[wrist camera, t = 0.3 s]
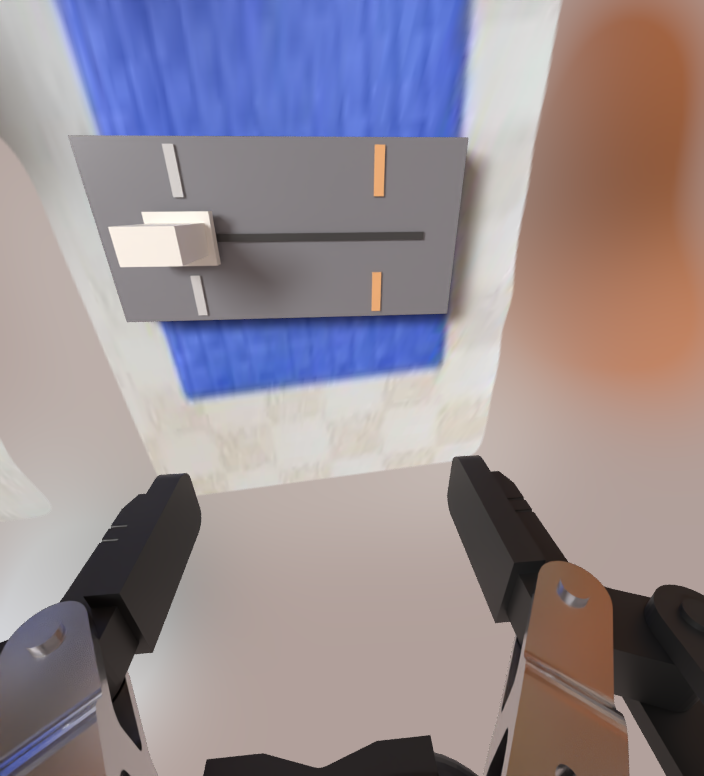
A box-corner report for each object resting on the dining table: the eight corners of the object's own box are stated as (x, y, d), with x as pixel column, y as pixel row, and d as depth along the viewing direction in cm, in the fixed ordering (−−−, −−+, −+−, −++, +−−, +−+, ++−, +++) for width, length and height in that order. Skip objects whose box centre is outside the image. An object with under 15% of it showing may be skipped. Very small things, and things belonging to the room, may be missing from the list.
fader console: (92, 142, 28) (66, 135, 25) (455, 144, 30) (469, 137, 27) (142, 313, 34) (125, 322, 31) (437, 305, 36) (447, 314, 33)
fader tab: (147, 211, 27) (94, 212, 21) (211, 211, 28) (179, 211, 21) (160, 264, 29) (116, 280, 23) (220, 263, 29) (193, 278, 23)
